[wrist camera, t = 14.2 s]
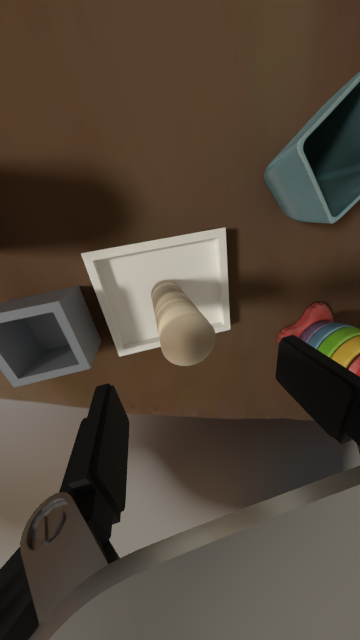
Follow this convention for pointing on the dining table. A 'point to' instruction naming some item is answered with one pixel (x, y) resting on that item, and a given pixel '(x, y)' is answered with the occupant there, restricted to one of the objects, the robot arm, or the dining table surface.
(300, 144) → the flower pot
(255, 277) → the dining table surface
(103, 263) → the white tray
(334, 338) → the stacking bear
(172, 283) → the birch peg
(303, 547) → the robot arm
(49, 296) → the grey open box
